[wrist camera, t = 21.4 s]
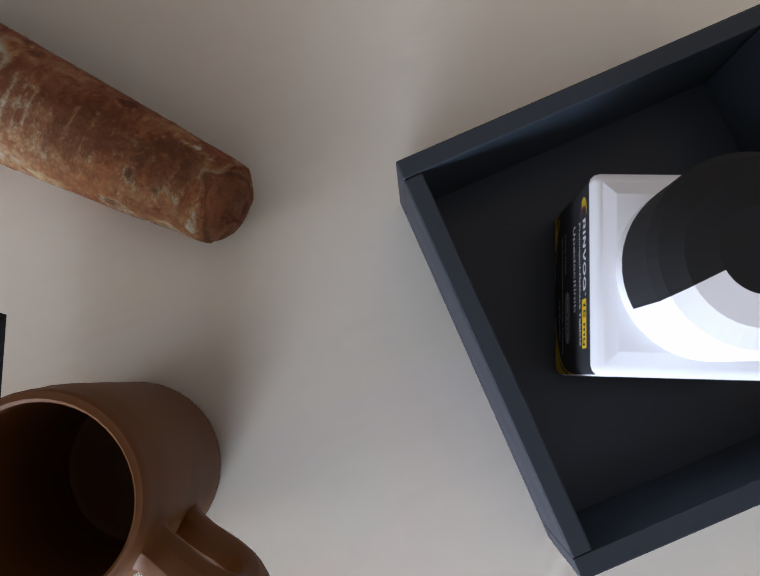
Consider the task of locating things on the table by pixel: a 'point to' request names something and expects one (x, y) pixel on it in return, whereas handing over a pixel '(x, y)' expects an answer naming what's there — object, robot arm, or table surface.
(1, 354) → the robot arm
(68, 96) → the brown cylinder
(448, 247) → the open box
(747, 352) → the medicine bottle
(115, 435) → the mug
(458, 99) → the table surface
